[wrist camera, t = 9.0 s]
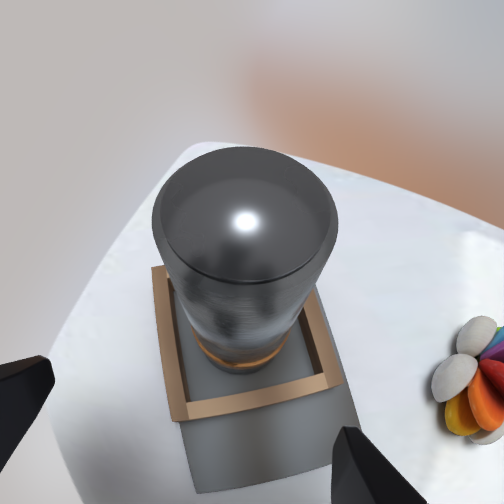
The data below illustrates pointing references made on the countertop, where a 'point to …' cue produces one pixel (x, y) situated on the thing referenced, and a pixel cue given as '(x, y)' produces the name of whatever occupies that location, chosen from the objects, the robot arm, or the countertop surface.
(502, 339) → the multicolored petal flower
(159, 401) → the countertop surface
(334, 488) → the robot arm
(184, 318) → the picture frame
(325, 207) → the grey metal cylinder
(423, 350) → the countertop surface
